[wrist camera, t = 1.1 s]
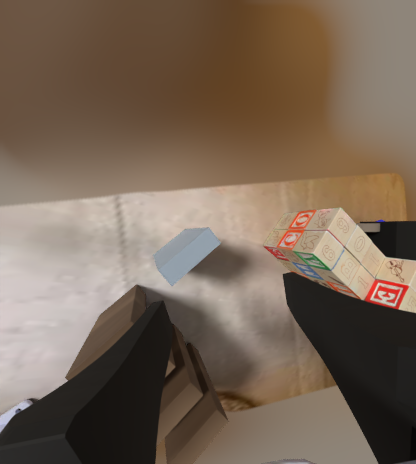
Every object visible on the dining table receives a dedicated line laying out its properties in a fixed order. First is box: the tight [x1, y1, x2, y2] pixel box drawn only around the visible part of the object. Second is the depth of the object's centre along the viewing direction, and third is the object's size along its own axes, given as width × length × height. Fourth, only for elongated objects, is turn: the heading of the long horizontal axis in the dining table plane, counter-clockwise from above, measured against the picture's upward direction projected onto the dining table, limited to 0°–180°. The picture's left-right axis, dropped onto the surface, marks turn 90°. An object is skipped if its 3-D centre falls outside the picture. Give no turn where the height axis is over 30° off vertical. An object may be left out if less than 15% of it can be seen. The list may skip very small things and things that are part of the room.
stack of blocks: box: [263, 208, 416, 313], centre depth 26 cm, size 21×6×12 cm, turn 52°
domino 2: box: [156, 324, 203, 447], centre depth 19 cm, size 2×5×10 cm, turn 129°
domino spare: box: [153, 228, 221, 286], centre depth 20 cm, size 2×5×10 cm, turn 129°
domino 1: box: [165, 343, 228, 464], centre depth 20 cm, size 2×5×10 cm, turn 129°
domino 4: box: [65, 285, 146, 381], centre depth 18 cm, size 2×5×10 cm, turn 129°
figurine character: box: [356, 220, 416, 261], centre depth 32 cm, size 7×8×15 cm
